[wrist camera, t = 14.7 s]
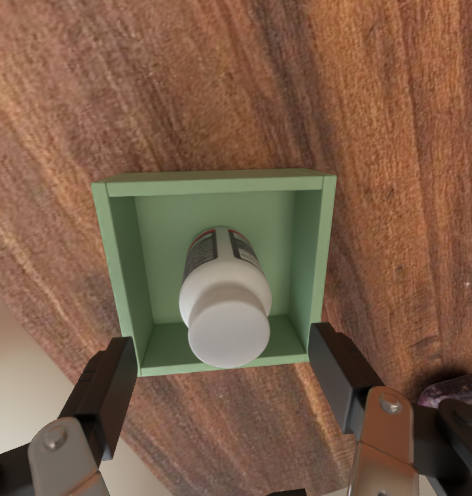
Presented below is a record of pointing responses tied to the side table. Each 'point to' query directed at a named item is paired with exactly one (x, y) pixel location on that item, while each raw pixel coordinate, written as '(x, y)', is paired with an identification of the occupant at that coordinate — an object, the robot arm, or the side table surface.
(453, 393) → the mineral specimen
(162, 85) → the side table surface
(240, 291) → the pill bottle
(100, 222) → the bin
